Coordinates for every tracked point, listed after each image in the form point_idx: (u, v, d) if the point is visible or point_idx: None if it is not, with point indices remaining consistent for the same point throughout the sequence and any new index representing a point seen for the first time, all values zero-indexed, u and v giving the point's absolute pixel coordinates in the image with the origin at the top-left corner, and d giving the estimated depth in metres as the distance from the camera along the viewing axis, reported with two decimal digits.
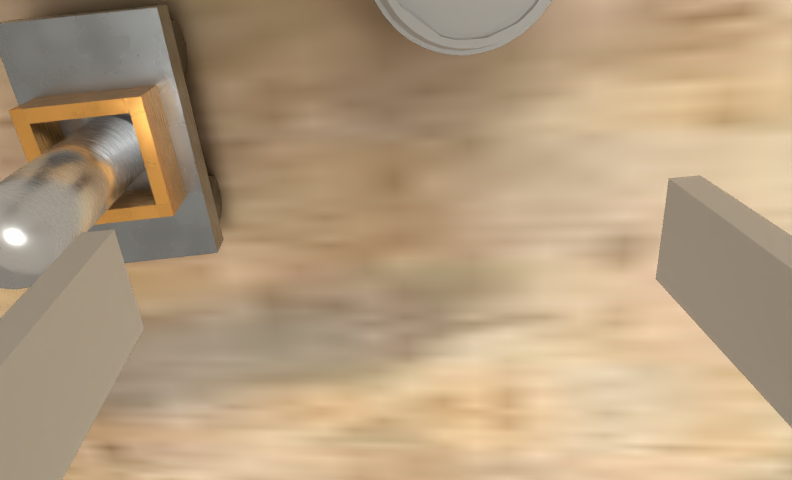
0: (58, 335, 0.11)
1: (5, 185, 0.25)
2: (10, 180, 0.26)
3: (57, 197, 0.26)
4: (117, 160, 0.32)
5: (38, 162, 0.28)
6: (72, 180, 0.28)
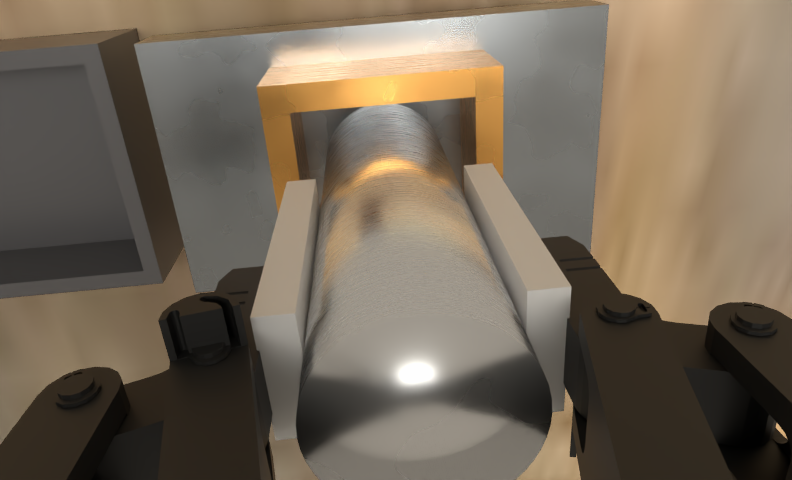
0: (311, 258, 0.13)
1: None
2: None
3: (346, 270, 0.11)
4: (365, 146, 0.16)
5: None
6: (341, 232, 0.12)
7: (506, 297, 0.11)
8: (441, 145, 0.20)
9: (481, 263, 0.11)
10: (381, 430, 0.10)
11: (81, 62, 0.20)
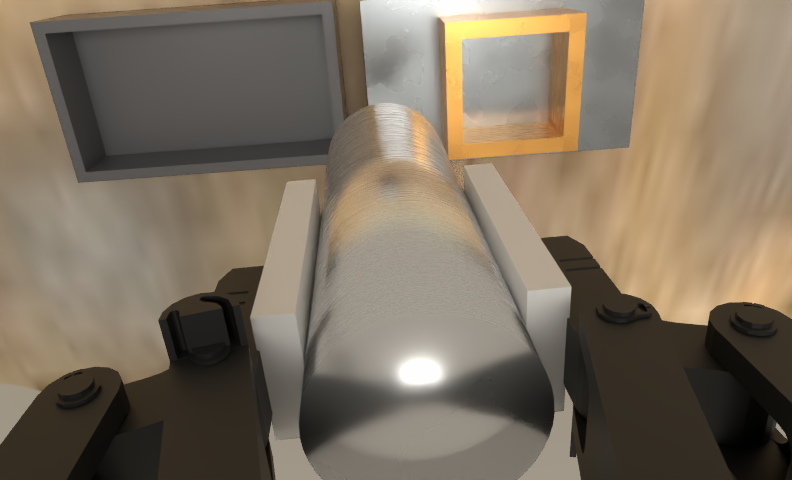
0: (310, 258, 0.13)
1: None
2: None
3: (348, 270, 0.11)
4: (367, 146, 0.16)
5: None
6: (343, 232, 0.12)
7: (508, 297, 0.11)
8: (442, 145, 0.20)
9: (483, 263, 0.11)
10: (383, 429, 0.10)
11: (320, 13, 0.33)
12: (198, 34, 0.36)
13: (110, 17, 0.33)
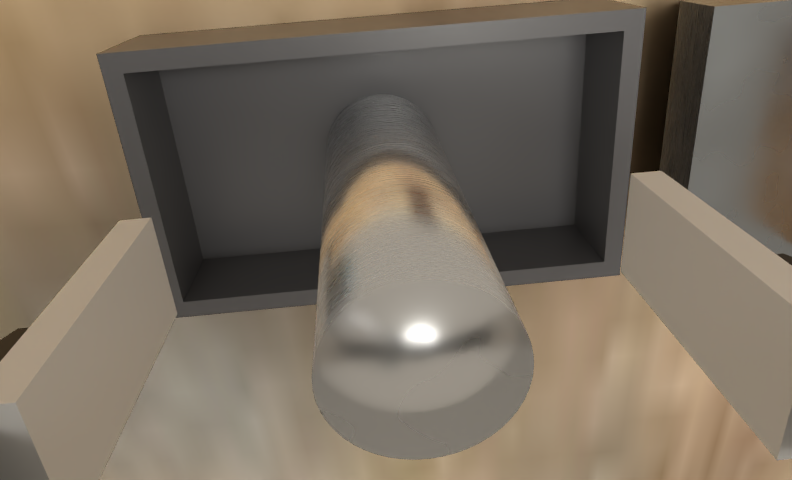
0: (106, 316, 0.12)
1: None
2: None
3: (353, 246, 0.12)
4: (365, 135, 0.18)
5: None
6: (346, 213, 0.14)
7: (494, 268, 0.12)
8: (435, 134, 0.21)
9: (472, 239, 0.12)
10: (385, 382, 0.11)
11: (623, 29, 0.18)
12: (370, 64, 0.21)
13: (244, 42, 0.18)
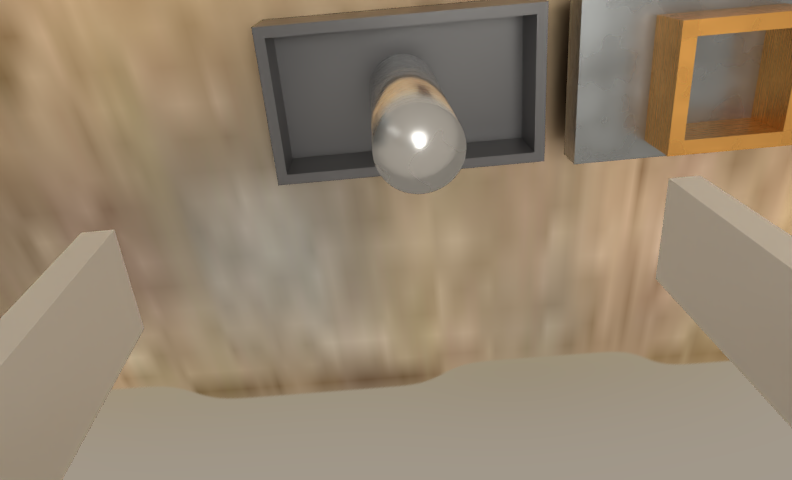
0: (58, 335, 0.11)
1: None
2: None
3: (389, 101, 0.27)
4: (393, 69, 0.33)
5: None
6: (385, 94, 0.29)
7: (452, 110, 0.27)
8: None
9: (443, 100, 0.27)
10: (403, 151, 0.26)
11: (536, 13, 0.33)
12: (396, 36, 0.36)
13: (329, 21, 0.33)
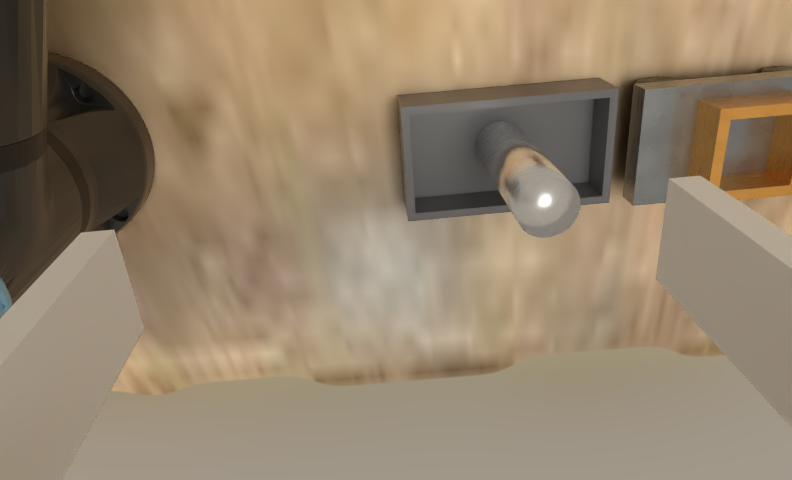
0: (58, 336, 0.11)
1: (509, 200, 0.39)
2: (507, 198, 0.40)
3: (522, 172, 0.39)
4: (506, 138, 0.44)
5: (499, 183, 0.42)
6: (513, 164, 0.40)
7: None
8: None
9: None
10: (537, 209, 0.38)
11: (609, 96, 0.45)
12: (498, 108, 0.48)
13: (458, 102, 0.44)
